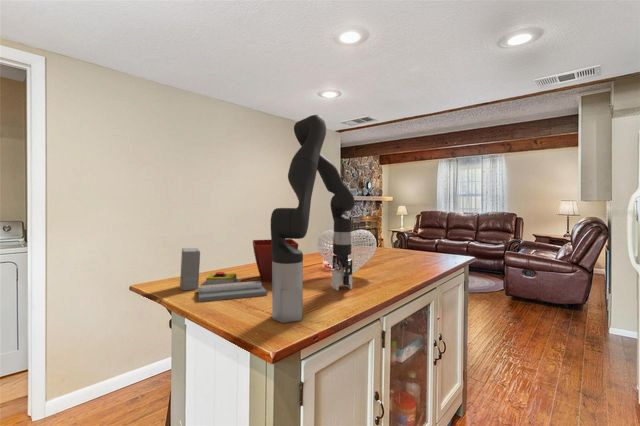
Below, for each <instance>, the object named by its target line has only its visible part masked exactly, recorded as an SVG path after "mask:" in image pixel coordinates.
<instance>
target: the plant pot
mask: <svg viewBox="0 0 640 426" xmlns="http://www.w3.org/2000/svg"><path fill="white" fill-rule="evenodd" d="M285 240H286V242H287V243H288V244H289V245H290V246H292V247H293V248H296V249H298V250H299V243H298V242H296V241H295V240H293V239H286V238H285ZM252 246H253V253H254V256H255V257H254V258H255V263H256V266H257V267H256V268H257V271H258V273H259V277H260V282H261V283H262V282H264V283H265V282H272V246H271V239H253V240H252Z"/></svg>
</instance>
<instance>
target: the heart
mask: <svg viewBox="0 0 640 426" xmlns="http://www.w3.org/2000/svg"><path fill="white" fill-rule="evenodd" d="M333 234H334V229H327V230H325V231H324V232H322V233H321V234H320V236H319V237H318V240H317V250H318V252H319V254H320V255H321V257H322V258H323V259H324V260H325V261H326V262H327V263H328V265H330V266H331V267H333V255H335V254H333V243H331V242H333ZM377 244H378V243H377V239H376V236H374V234H373V233H372V232H371V231H370V230H366V229H357V230H351V254H350V255H348V260H352V275H353V274H355V273H356V272H357V271H358V270H359V269H360V268H361V267H362V266H364V265H365V264H366V263H367V262H368V261H369V260H370V259H371V258H372V257H373V255H375V252H376V250H377V246H378V245H377ZM349 270H350V269H349Z"/></svg>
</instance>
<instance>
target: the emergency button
mask: <svg viewBox="0 0 640 426" xmlns="http://www.w3.org/2000/svg"><path fill="white" fill-rule="evenodd" d="M241 281H242V278H237V273H234V272H233V273H231V272H230V273H227V272H226V273H225V272H224V271H219V272H218V271H217V272H215V273H210V274H209V275H208V276H207V277H206V280H205V281H204V282H203V283H202V285H215V284H227V283H240V282H241Z"/></svg>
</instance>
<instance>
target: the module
mask: <svg viewBox="0 0 640 426" xmlns="http://www.w3.org/2000/svg"><path fill="white" fill-rule="evenodd" d="M349 271H350V270H349ZM343 276H344V275H343V271H341V270H334V269H332V270H331V289H334V290H336V291H339V290H340V289H339V286H342V285H343V286H345V287H346V288H348V289H350V290H352V289H353V274H352V275H349V285H344V284H343Z"/></svg>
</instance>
